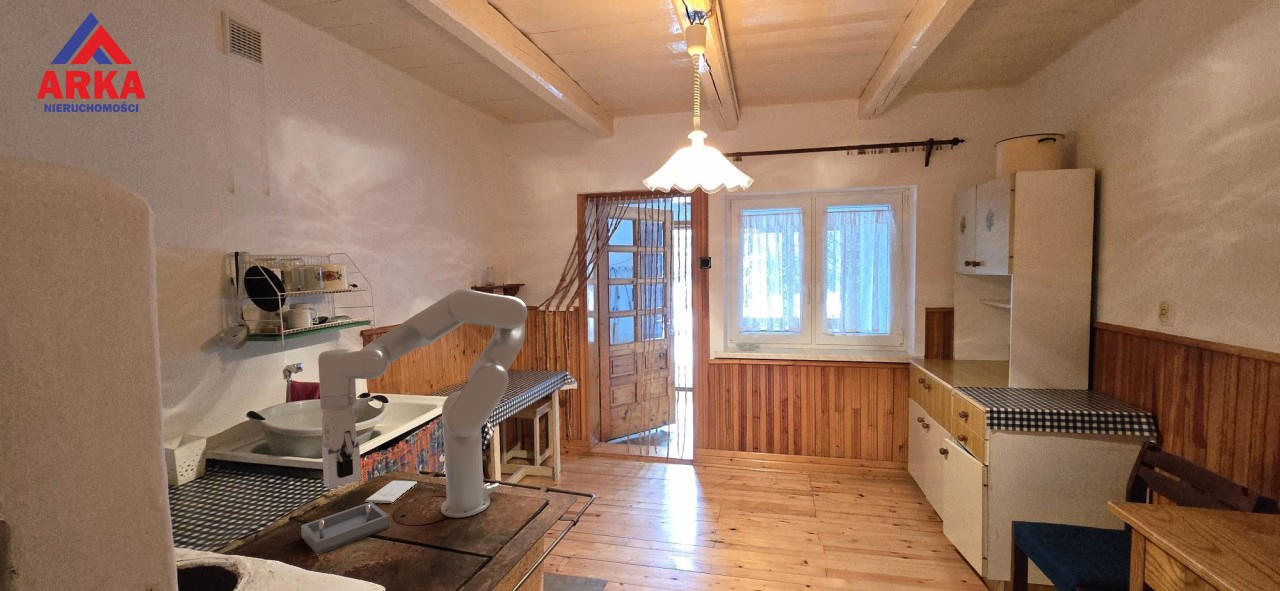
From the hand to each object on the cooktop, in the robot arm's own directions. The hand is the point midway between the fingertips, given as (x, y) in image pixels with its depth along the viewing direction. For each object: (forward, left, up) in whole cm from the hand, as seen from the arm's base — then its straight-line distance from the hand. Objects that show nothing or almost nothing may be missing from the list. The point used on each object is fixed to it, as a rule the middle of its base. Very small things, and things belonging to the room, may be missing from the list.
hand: (342, 472), depth 123 cm
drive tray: (0, 0, -15) cm, 15 cm away
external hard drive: (-17, -14, -16) cm, 27 cm away
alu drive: (0, 0, -2) cm, 2 cm away
